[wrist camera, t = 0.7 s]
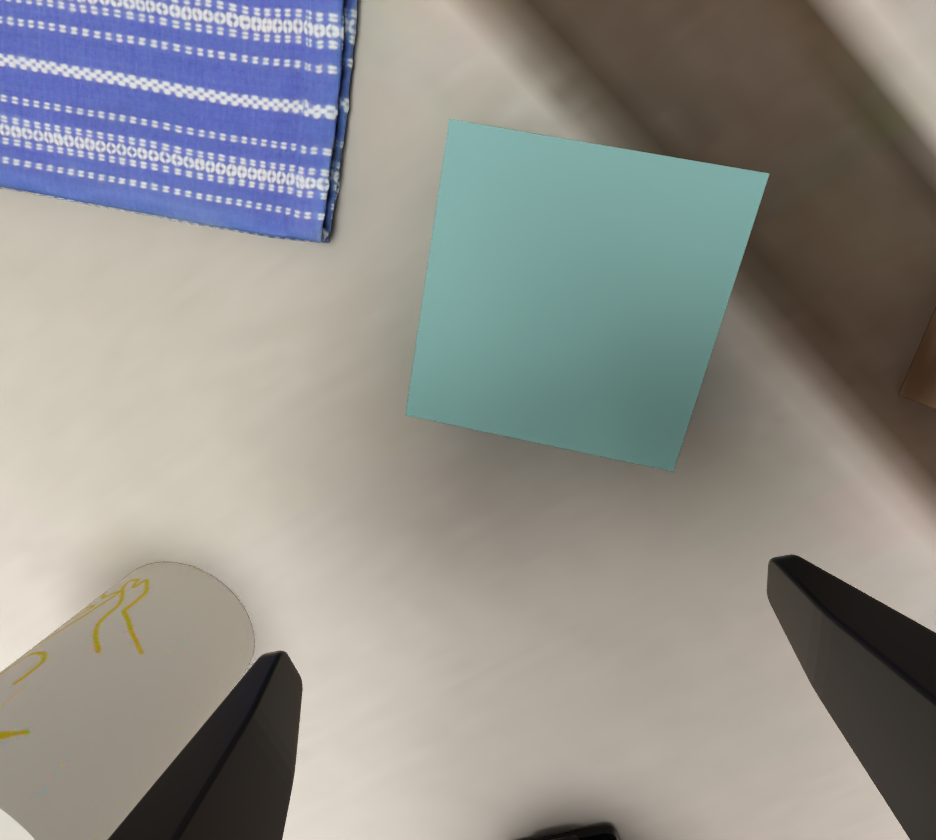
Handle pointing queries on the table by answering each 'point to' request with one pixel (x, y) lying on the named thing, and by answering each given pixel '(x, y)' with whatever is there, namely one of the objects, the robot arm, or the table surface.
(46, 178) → the dish towel
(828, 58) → the table surface
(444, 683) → the table surface
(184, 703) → the cup
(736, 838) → the table surface
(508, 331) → the teal plinth
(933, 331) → the walnut pillar
